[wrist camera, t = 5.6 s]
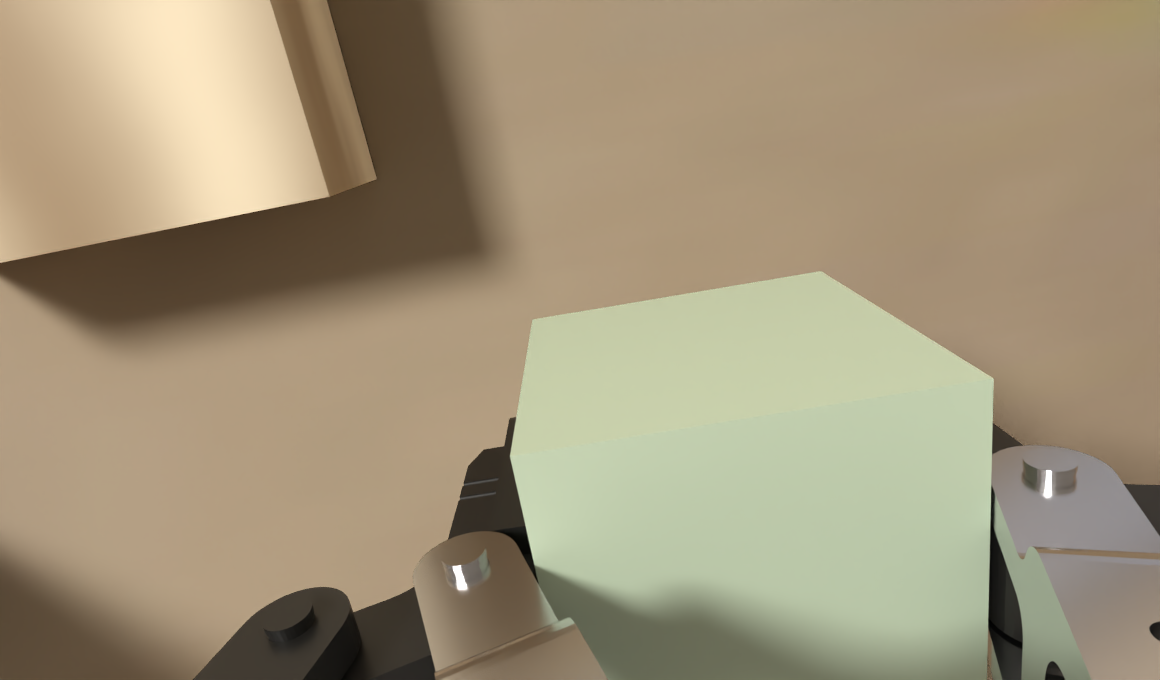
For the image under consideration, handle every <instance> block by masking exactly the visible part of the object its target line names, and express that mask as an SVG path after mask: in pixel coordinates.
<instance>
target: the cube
mask: <svg viewBox="0 0 1160 680" xmlns="http://www.w3.org/2000/svg"><path fill="white" fill-rule="evenodd" d="M993 382H994V378H992V377H990V376H989V375H987V374H985V373H984V372H982V371H981V370H979V369H977V368H976V367H974V366H973V365H971V364H969V363H968V362H966V361H965V360H963V359H961V358H960V357H958V356H957V355H955V354H953V353H952V352H950V351H948V350H947V349H945V348H944V347H942V346H940V345H939V344H937V343H936V342H934V341H932V340H931V339H929V338H928V337H926V336H924V335H923V334H921V333H920V332H918V331H916V330H915V329H913V328H911V327H910V326H908V325H907V324H905V323H903V322H902V321H900V320H899V319H897V318H895V317H894V316H892V315H891V314H889V313H887V312H886V311H884V310H882V309H881V308H879V307H878V306H876V305H874V304H873V303H871V302H870V301H868V300H866V299H865V298H863V297H862V296H860V295H858V294H857V293H855V292H854V291H852V290H850V289H849V288H847V287H845V286H844V285H842V284H841V283H839V282H837V281H836V280H834V279H833V278H831V277H829V276H828V275H826V274H825V273H823V272H821V271H819V272H813V273H807V274H801V275H795V276H789V277H784V278H778V279H772V280H766V281H760V282H754V283H748V284H742V285H736V286H730V287H724V288H718V289H712V290H706V291H700V292H694V293H688V294H682V295H676V296H670V297H664V298H659V299H653V300H647V301H641V302H635V303H629V304H623V305H617V306H611V307H605V308H599V309H593V310H587V311H581V312H575V313H569V314H563V315H557V316H551V317H545V318H539V319H534V320H532V326H531V332H530V338H529V344H528V350H527V356H526V362H525V368H524V374H523V380H522V386H521V393H520V399H519V405H518V411H517V417H516V423H515V429H514V435H513V441H512V447H511V453H510V459H511V463H512V468H513V472H514V477H515V481H516V486H517V490H518V494H519V499H520V503H521V508H522V512H523V517H524V521H525V526H526V530H527V534H528V539H529V543H530V548H531V552H532V557H533V561H534V566H535V570H536V575H537V579H538V583H539V586H540V588H541V590H542V592H543V594H544V595H545V597H546V599H547V601H548V603H549V605H550V606H551V608H552V610H553V612H554V614H555V616H556V617H557V619H558V621H559V620H562V619H564V618H567V617H570V618H571V619H572V620H573V621H574V623H575V624H576V626H577V627H578V629H579V630H580V632H581V634H582V636H583V637H584V639H585V641H586V643H587V644H588V646H589V648H590V649H591V651H592V653H593V655H594V656H595V658H596V660H597V662H598V663H599V665H600V667H601V668H602V670H603V672H604V674H605V675H606V677H607V679H608V680H987V654H988V609H989V563H990V518H991V473H992V428H993Z"/></svg>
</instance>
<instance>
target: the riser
mask: <svg viewBox="0 0 1160 680" xmlns="http://www.w3.org/2000/svg"><path fill="white" fill-rule="evenodd" d="M376 179H377V178H376V174H375V171H374V167H373V164H372V160H371V156H370V153H369V149H368V146H367V142H366V139H365V135H364V131H363V128H362V124H361V121H360V117H359V114H358V110H357V106H356V103H355V99H354V96H353V92H352V89H351V85H350V81H349V78H348V74H347V71H346V67H345V63H344V60H343V56H342V53H341V49H340V46H339V42H338V38H337V35H336V31H335V28H334V24H333V21H332V17H331V13H330V10H329V6H328V3H327V0H0V263H2V262H7V261H12V260H17V259H22V258H27V257H32V256H37V255H42V254H47V253H52V252H57V251H62V250H67V249H72V248H77V247H82V246H87V245H92V244H97V243H102V242H107V241H111V240H116V239H121V238H126V237H131V236H136V235H141V234H146V233H151V232H156V231H161V230H166V229H171V228H176V227H181V226H186V225H191V224H196V223H201V222H206V221H211V220H216V219H221V218H226V217H231V216H236V215H241V214H246V213H251V212H256V211H261V210H266V209H271V208H276V207H281V206H286V205H291V204H296V203H301V202H306V201H311V200H316V199H321V198H326V197H330V196H333V195H335V194H338V193H341V192H344V191H346V190H349V189H352V188H354V187H357V186H360V185H362V184H365V183H368V182H370V181H373V180H376Z"/></svg>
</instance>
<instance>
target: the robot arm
mask: <svg viewBox="0 0 1160 680" xmlns="http://www.w3.org/2000/svg"><path fill="white" fill-rule="evenodd" d="M515 423H516V417H514V418H510V420H509V424H508V430H507V435H506V440H505V446H503V447H497V448H491V449H485V450H483V451H482V452H481V453H480V454H479V455H478V457H477V458H476V459H475V460H474V461H473V462H472V463H471V464H470V465H469V466H468V469H467V473H466V476H465V480H464V486H463V487H462V491H461V494H460V500H459V502H458V505H457V509H456V512H455V516H454V520H453V523H452V527H451V530H450V534H449V538H448V540H446V541H444V542H442V543H441V544H439V545H437V546H436V547H434V548H433V549H431V550H430V551H429V552H428V553H427V554H425V555H424V557H423V558H422V559H421V560H420V561H419V563H418V564H417V566H416V568H415V570H414V574H413V583H414V587H413V588H411V589H410V590H408V591H406V592H404V593H402V594H400V595H398V596H396V597H393V598H391V599H388V600H386V601H383V602H380V603H378V604H375V605H372V606H369V607H367V608H364V609H361V610H359V611H356V612H353V611H352V608H351V605H350V602H349V599H348V597H347V596H346V595H345V594H344V593H343V592H342V591H340V590H338V589H334V588H329V587H316V588H309V589H304V590H301V591H297V592H294V593H291V594H289V595H286V596H284V597H282V598H280V599H278V600H276V601H274V602H272V603H270V604H269V605H267V606H265V607H264V608H262V609H261V610H259V611H258V612H257V613H256V614H254V615H253V616H252V617H251V618H250V619H249V620H248V621H247V622H246V623H245V624H244V625H243V626H242V627H241V628H240V629H239V630H238V631H237V632H236V633H235V634H234V636H233V637H232V638H231V639H230V640H229V641H228V642H227V643H226V644H225V645H224V646H223V648H222V649H221V650H220V651H219V652H218V653H217V654H216V655H215V656H214V657H213V658H212V660H211V661H210V662H209V663H208V664H207V665H206V666H205V667H204V668H203V669H202V670H201V672H200V673H199V674H198V675H197V676H196V677H195V678H194V679H193V680H608V679H607V677H606V675H605V674H604V672H603V670H602V668H601V667H600V665H599V663H598V662H597V660H596V658H595V656H594V655H593V653H592V651H591V649H590V648H589V646H588V644H587V643H586V641H585V639H584V637H583V636H582V634H581V632H580V630H579V629H578V627H577V626H576V624H575V623H574V621H573V620H572V619H571V618H570V617H567V618H564V619H562V620H559V621H558V619H557V617H556V616H555V614H554V612H553V610H552V608H551V606H550V605H549V603H548V601H547V599H546V597H545V595H544V594H543V592H542V590H541V588H540V586H539V583H538V579H537V575H536V570H535V566H534V561H533V557H532V552H531V548H530V543H529V539H528V534H527V530H526V526H525V521H524V517H523V512H522V508H521V503H520V499H519V494H518V490H517V486H516V481H515V477H514V472H513V468H512V463H511V459H510V453H511V447H512V441H513V435H514V429H515ZM987 658H988V662H989V666H990V670H991V673H992V677H993V680H1160V485H1130V484H1123V482H1122V481H1121V480H1120V478H1119V477H1118V475H1117V474H1116V473H1115V471H1114V470H1113V469H1112V468H1111V467H1110V466H1108V465H1107V464H1106V463H1104V462H1102V461H1100V460H1099V459H1097V458H1095V457H1092V456H1090V455H1087V454H1084V453H1081V452H1078V451H1075V450H1071V449H1066V448H1061V447H1054V446H1044V445H1024V446H1023V445H1022V444H1021V443H1019V442H1018V441H1016V440H1015V439H1014V438H1012V437H1011V436H1010V435H1008V434H1007V433H1005V432H1004V431H1003V430H1001V429H1000V428H999V427H997V426H996V425H994V424H993V428H992V473H991V518H990V563H989V609H988V654H987Z"/></svg>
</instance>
